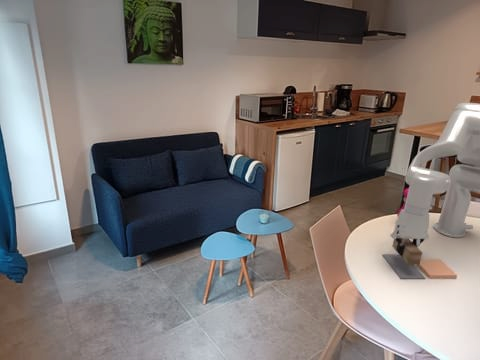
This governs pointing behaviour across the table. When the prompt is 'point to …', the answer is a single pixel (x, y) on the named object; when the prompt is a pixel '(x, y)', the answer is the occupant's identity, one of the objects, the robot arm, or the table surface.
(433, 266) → the tile
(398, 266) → the mat
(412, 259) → the block
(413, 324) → the table surface
